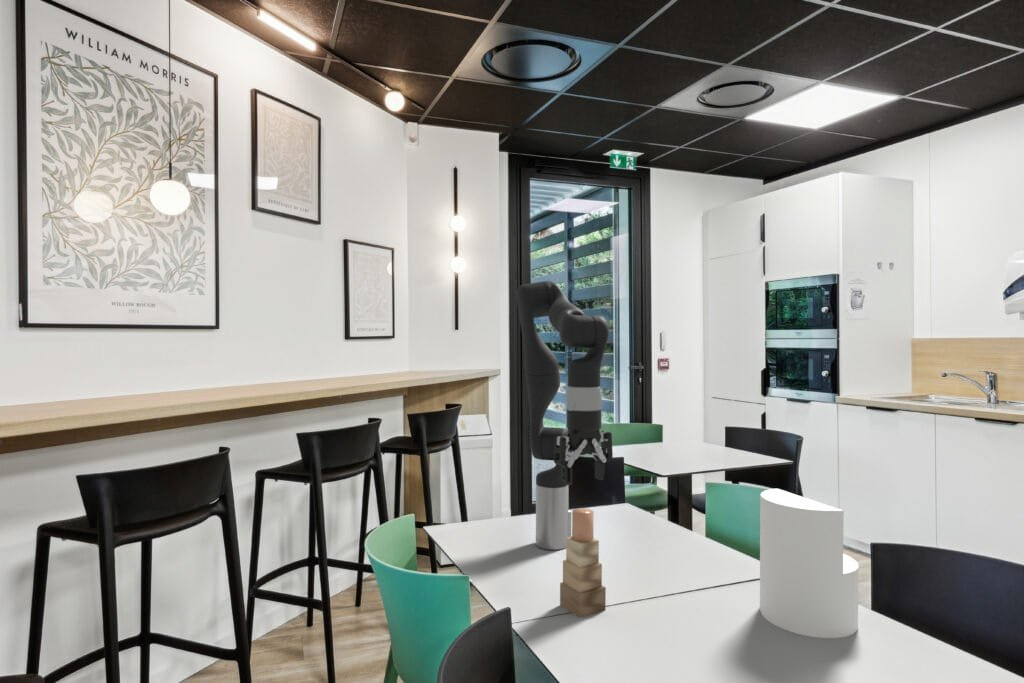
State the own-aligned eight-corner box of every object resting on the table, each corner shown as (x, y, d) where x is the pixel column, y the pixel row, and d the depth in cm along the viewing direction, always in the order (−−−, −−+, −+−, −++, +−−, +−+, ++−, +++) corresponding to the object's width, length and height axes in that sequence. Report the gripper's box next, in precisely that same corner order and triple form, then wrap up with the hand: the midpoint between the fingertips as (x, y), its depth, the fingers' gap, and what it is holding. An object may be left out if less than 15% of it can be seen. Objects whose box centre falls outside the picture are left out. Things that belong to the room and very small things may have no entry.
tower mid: (584, 577, 139) (584, 555, 139) (601, 587, 134) (601, 563, 134) (562, 583, 136) (562, 560, 136) (579, 592, 131) (579, 568, 131)
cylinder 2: (796, 642, 120) (797, 513, 120) (742, 601, 138) (743, 489, 138) (880, 633, 124) (881, 508, 124) (816, 595, 142) (817, 486, 142)
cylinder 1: (584, 534, 138) (584, 507, 138) (597, 540, 134) (597, 512, 134) (567, 537, 136) (568, 510, 136) (581, 543, 132) (581, 515, 132)
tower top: (584, 556, 139) (584, 534, 139) (598, 563, 134) (598, 540, 134) (566, 560, 136) (566, 537, 136) (580, 567, 132) (580, 544, 132)
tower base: (585, 598, 140) (585, 576, 140) (605, 610, 134) (605, 587, 134) (560, 605, 136) (560, 582, 136) (579, 617, 130) (579, 594, 130)
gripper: (598, 403, 142) (598, 474, 142) (547, 407, 134) (546, 482, 134) (620, 407, 135) (620, 481, 135) (568, 411, 128) (567, 489, 128)
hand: (583, 481), depth 135 cm, fingers open, 8 cm apart
